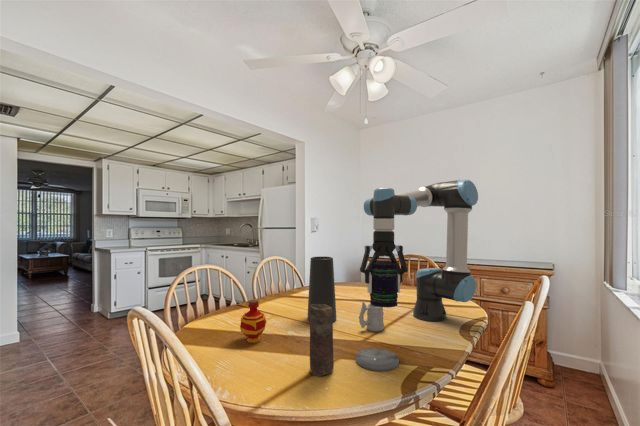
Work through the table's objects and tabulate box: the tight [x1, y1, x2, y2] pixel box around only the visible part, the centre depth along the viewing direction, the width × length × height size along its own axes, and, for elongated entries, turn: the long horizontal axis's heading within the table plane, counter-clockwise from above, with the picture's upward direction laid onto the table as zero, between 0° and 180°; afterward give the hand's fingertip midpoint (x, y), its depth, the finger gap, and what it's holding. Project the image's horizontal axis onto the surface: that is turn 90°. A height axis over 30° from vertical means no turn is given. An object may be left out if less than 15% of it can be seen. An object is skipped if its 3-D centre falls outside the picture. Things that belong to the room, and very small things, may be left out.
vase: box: [306, 256, 337, 323], centre depth 144 cm, size 14×14×29 cm
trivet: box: [355, 347, 400, 372], centre depth 101 cm, size 14×14×1 cm
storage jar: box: [369, 260, 399, 308], centre depth 111 cm, size 10×10×15 cm
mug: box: [358, 301, 385, 332], centre depth 131 cm, size 8×12×12 cm, turn 115°
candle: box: [309, 304, 335, 377], centre depth 95 cm, size 8×7×20 cm
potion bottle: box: [239, 299, 267, 343], centre depth 119 cm, size 10×10×15 cm
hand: (383, 292), depth 111 cm, fingers closed on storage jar, 10 cm apart
